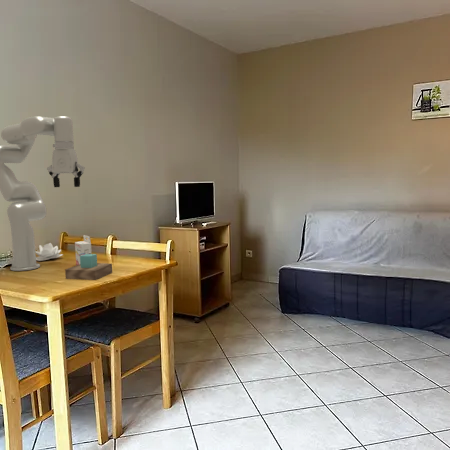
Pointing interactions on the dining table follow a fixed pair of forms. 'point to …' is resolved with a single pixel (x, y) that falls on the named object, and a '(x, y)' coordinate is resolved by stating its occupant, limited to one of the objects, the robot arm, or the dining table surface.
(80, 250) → the ink cartridge box
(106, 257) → the dining table surface
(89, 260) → the teal cube
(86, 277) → the walnut base block
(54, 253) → the lotus flower
